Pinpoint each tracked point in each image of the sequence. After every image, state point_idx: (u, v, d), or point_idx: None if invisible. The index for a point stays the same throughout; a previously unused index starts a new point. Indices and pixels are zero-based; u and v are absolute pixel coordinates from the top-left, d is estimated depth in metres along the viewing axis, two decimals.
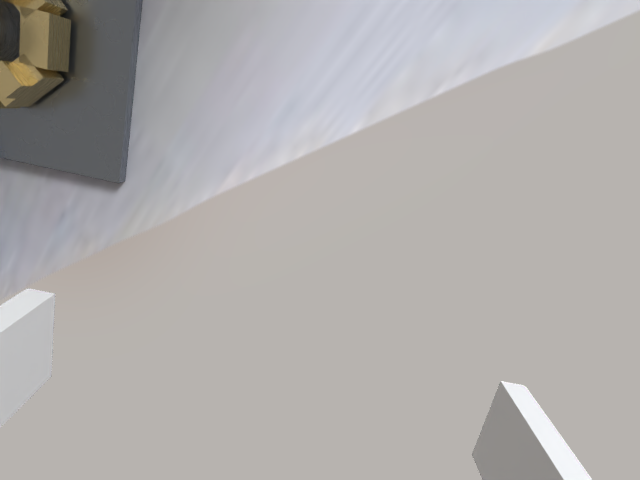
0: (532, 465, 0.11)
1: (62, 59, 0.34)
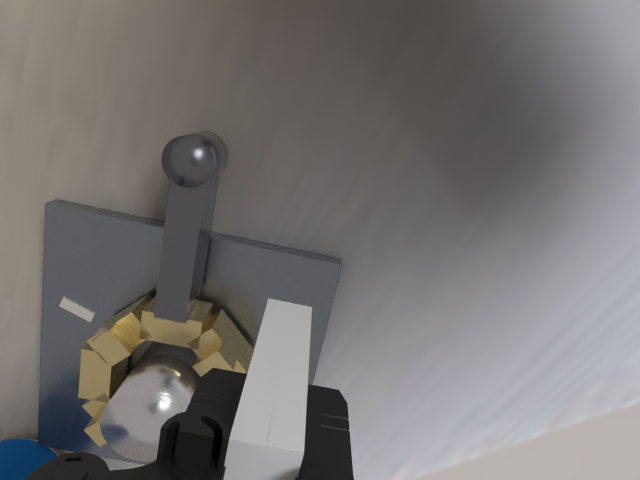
0: None
1: None
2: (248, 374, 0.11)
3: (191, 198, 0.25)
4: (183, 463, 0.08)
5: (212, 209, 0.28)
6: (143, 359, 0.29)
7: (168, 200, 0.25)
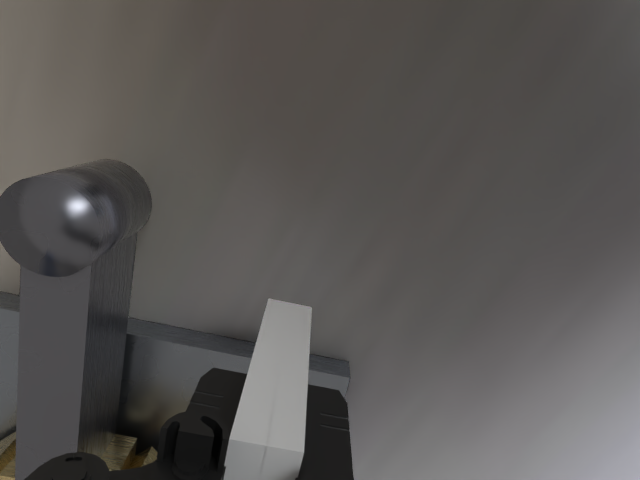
0: None
1: None
2: (248, 374, 0.11)
3: (66, 292, 0.13)
4: (183, 463, 0.08)
5: (126, 294, 0.16)
6: None
7: (22, 295, 0.13)
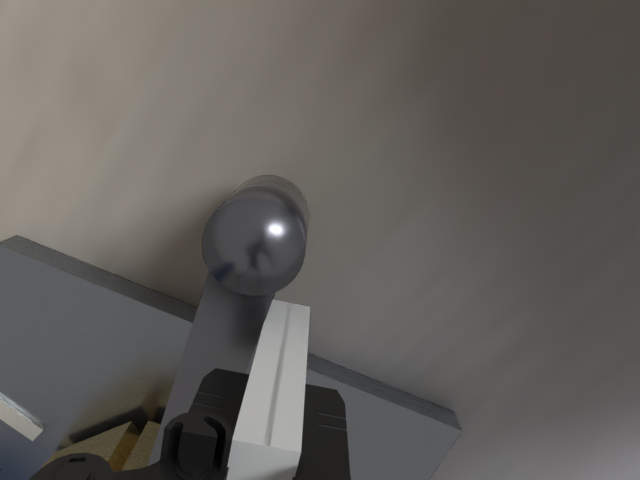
0: None
1: None
2: (251, 375, 0.11)
3: (245, 309, 0.13)
4: (186, 464, 0.08)
5: None
6: None
7: (200, 307, 0.13)
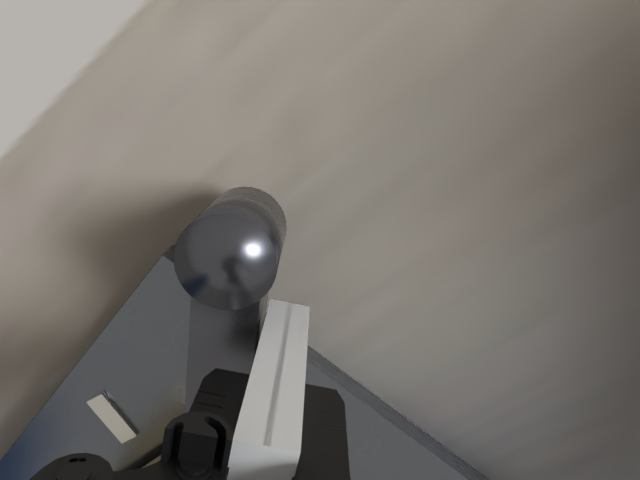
0: None
1: None
2: (251, 374, 0.11)
3: (234, 324, 0.13)
4: (187, 464, 0.08)
5: (264, 318, 0.16)
6: None
7: (191, 330, 0.13)
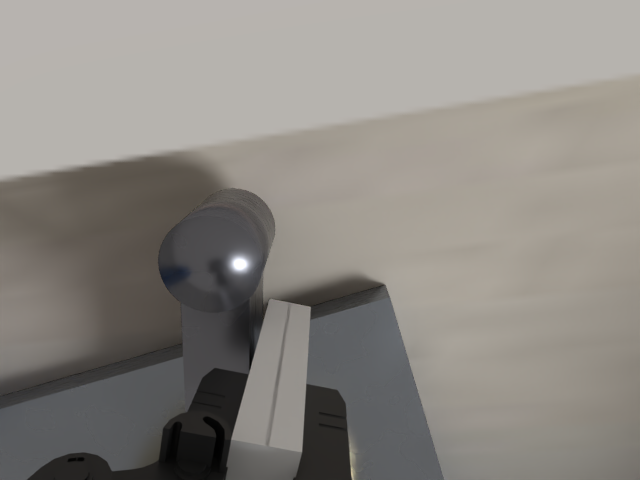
0: None
1: None
2: (250, 374, 0.11)
3: (226, 326, 0.13)
4: (185, 463, 0.08)
5: (261, 318, 0.16)
6: None
7: (184, 335, 0.13)
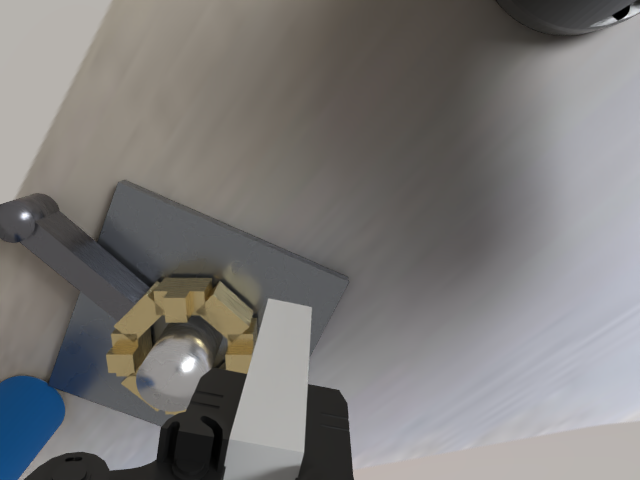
0: None
1: (244, 309, 0.36)
2: (248, 374, 0.11)
3: (41, 238, 0.32)
4: (183, 463, 0.08)
5: (80, 233, 0.35)
6: (173, 327, 0.35)
7: (35, 254, 0.32)
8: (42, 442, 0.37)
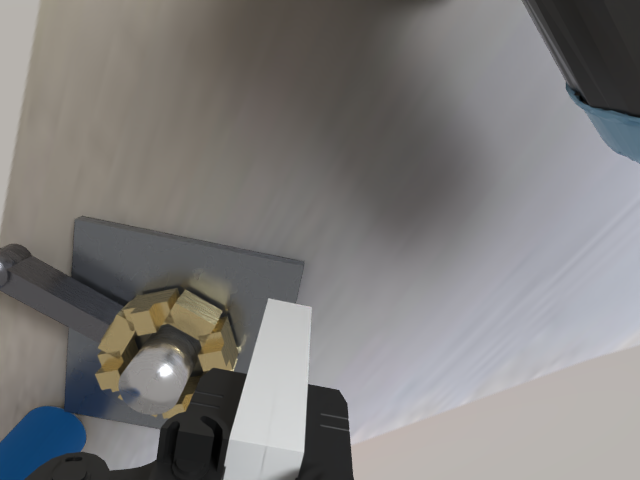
0: None
1: (212, 310, 0.39)
2: (248, 374, 0.11)
3: (15, 282, 0.36)
4: (183, 463, 0.08)
5: (53, 271, 0.38)
6: (150, 339, 0.38)
7: (14, 297, 0.36)
8: None
